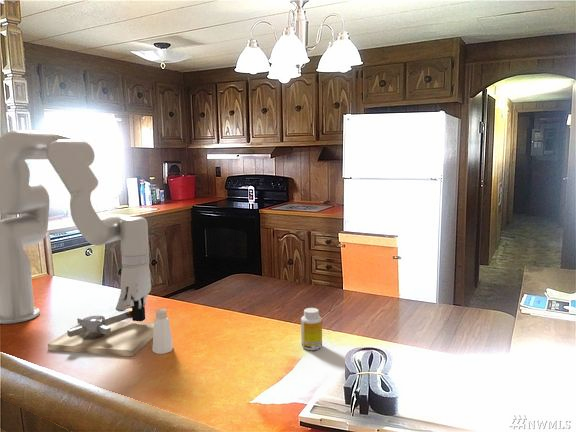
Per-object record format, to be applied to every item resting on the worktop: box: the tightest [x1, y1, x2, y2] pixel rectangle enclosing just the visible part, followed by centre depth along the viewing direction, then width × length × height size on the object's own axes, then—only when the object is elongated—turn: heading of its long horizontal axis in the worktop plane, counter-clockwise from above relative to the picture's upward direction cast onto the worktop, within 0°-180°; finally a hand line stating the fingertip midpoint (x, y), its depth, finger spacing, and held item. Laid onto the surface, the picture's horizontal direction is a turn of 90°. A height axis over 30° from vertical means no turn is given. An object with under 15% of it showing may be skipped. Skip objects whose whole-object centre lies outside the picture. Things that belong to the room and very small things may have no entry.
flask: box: [115, 293, 131, 311], centre depth 150 cm, size 7×7×10 cm
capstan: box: [66, 308, 133, 339], centre depth 126 cm, size 20×14×4 cm
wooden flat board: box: [47, 320, 154, 357], centre depth 125 cm, size 24×18×3 cm
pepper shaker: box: [152, 308, 174, 355], centre depth 118 cm, size 5×5×11 cm
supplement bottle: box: [300, 307, 323, 351], centre depth 120 cm, size 6×6×10 cm
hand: (139, 320), depth 132 cm, fingers closed
